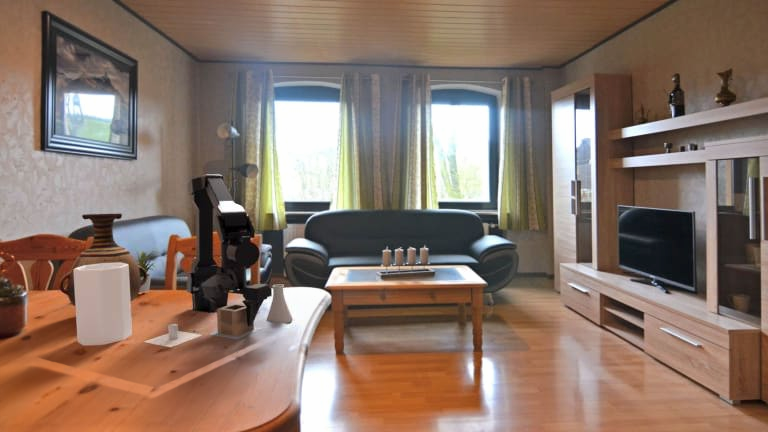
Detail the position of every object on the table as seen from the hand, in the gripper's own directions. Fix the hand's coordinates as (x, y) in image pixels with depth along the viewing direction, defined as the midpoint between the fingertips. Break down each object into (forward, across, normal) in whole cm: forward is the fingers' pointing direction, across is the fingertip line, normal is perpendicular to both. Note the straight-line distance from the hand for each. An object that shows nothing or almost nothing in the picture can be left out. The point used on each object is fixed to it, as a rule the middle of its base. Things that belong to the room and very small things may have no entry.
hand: (235, 324), depth 111 cm
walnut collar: (+2, 0, 0) cm, 2 cm away
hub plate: (+3, 0, 0) cm, 3 cm away
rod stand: (+3, -10, -10) cm, 14 cm away
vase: (+3, -50, 0) cm, 50 cm away
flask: (+3, +2, +14) cm, 15 cm away
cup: (+3, -26, -16) cm, 31 cm away
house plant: (+3, -66, +24) cm, 70 cm away
